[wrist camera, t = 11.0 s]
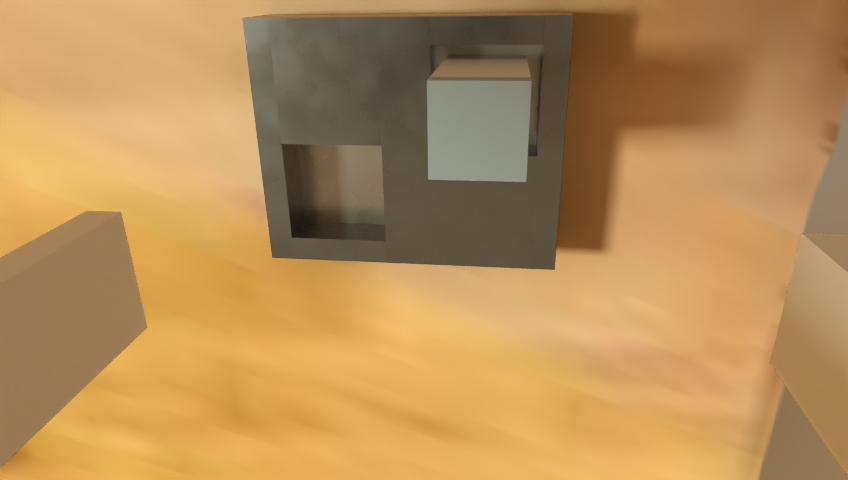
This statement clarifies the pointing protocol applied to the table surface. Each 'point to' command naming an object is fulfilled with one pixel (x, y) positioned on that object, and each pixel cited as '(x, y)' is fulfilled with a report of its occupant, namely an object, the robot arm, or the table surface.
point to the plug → (479, 118)
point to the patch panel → (399, 138)
